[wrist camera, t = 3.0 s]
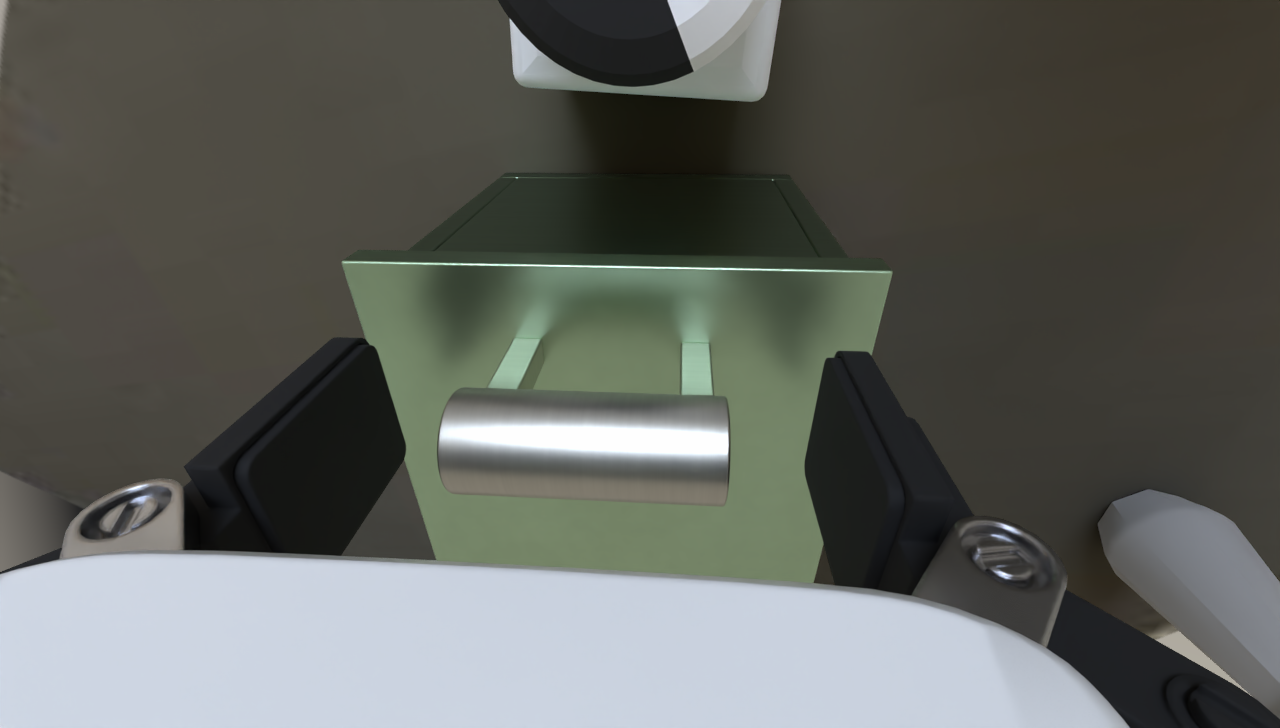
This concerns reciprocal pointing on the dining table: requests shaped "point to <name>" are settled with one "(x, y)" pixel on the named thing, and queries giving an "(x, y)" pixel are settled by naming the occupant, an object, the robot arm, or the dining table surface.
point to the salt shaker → (1201, 583)
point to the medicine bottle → (645, 46)
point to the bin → (638, 217)
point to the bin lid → (614, 401)
